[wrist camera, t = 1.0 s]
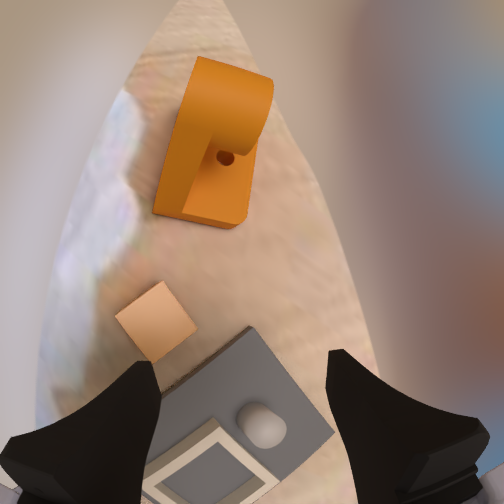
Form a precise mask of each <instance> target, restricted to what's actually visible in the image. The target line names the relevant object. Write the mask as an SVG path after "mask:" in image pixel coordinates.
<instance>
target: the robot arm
mask: <svg viewBox="0 0 504 504" xmlns="http://www.w3.org/2000/svg"><path fill="white" fill-rule="evenodd" d="M325 388H326V393H327V397H328V401H329V405H330V409H331V412H332V414H333V417H334V419H335V422H336V425H337V427H338V430H339V432H340V435H341V437H342V440H343V443H344V445H345V448H346V451H347V454H348V457H349V461H350V466H351V470H352V474H353V479H354V483H355V488H356V493H357V499H358V504H504V462H503V463H502V464H500V465H498V466H497V467H495V468H494V469H492V470H490V471H488V472H487V473H485V474H484V475H483V476H481V477H480V478H479V479H478V477H477V476H476V474H475V473H477V472H478V468H477V466H476V465H475V462H476V461H477V460H478V458H479V457H480V455H481V454H482V453H483V451H484V450H485V448H486V446H487V445H488V442H489V439H490V435H489V433H488V431H487V430H486V429H485V427H484V426H483V425H482V423H481V422H480V421H479V419H478V418H473V417H468V416H462V415H457V414H453V413H449V412H446V411H443V410H439V409H436V408H433V407H431V406H428V405H426V404H423V403H421V402H419V401H416V400H414V399H412V398H410V397H408V396H406V395H405V394H403V393H401V392H399V391H397V390H396V389H394V388H392V387H391V386H390V385H388V384H386V383H385V382H384V381H382V380H381V379H379V378H378V377H377V376H375V375H374V374H373V373H371V372H370V371H369V370H368V369H366V368H365V367H364V366H363V365H361V364H360V363H359V362H358V361H357V360H356V359H354V358H353V357H352V356H351V355H350V354H349V353H347V352H346V351H345V350H344V349H338V350H331V351H329V353H328V365H327V377H326V387H325ZM161 400H162V396H161V393H160V389H159V386H158V383H157V380H156V377H155V373H154V370H153V367H152V363H151V361H137V362H135V363H134V364H133V365H132V366H131V367H130V368H129V369H128V370H127V371H125V372H124V373H123V374H122V375H121V376H120V377H119V378H118V379H117V380H116V381H115V382H113V383H112V384H111V385H110V386H109V387H108V388H107V389H105V390H104V391H103V392H102V393H100V394H99V395H98V396H97V397H96V398H94V399H93V400H92V401H90V402H89V403H88V404H86V405H85V406H83V407H82V408H80V409H79V410H77V411H76V412H74V413H72V414H71V415H69V416H67V417H65V418H63V419H61V420H59V421H57V422H55V423H53V424H51V425H49V426H46V427H44V428H41V429H38V430H36V431H33V432H30V433H26V434H22V435H19V436H15V437H11V438H10V440H9V441H8V443H7V445H6V446H5V448H4V449H3V451H2V452H1V454H0V465H1V466H2V468H3V469H4V471H5V472H6V473H7V474H8V475H9V476H10V477H11V478H12V479H13V480H14V481H15V483H16V484H17V485H18V486H17V487H16V488H14V489H10V488H8V487H6V486H4V485H2V484H0V504H141V492H142V483H143V476H144V469H145V463H146V459H147V455H148V452H149V449H150V445H151V442H152V439H153V435H154V432H155V429H156V425H157V422H158V418H159V413H160V407H161ZM17 492H18V493H17Z"/></svg>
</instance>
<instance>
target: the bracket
mask: <svg viewBox="0 0 504 504" xmlns="http://www.w3.org/2000/svg"><path fill="white" fill-rule="evenodd" d="M273 90H274V84H273V80H272V79H270V78H268V77H265V76H262V75H259V74H256V73H253V72H250V71H247V70H244V69H241V68H238V67H235V66H232V65H229V64H225V63H222V62H219V61H215V60H211V59H208V58H204V57H200V56H198V57H197V60H196V63H195V65H194V68H193V71H192V74H191V76H190V79H189V82H188V85H187V88H186V91H185V94H184V97H183V100H182V103H181V106H180V110H179V113H178V116H177V119H176V123H175V126H174V129H173V133H172V136H171V140H170V143H169V147H168V151H167V154H166V158H165V162H164V166H163V169H162V173H161V177H160V181H159V186H158V190H157V194H156V198H155V203H154V207H153V212H152V213H155V214H160V215H164V216H169V217H174V218H179V219H184V220H188V221H193V222H198V223H202V224H207V225H212V226H216V227H221V228H226V229H232V228H234V227H236V226H237V225H239V224H240V223H242V222H243V221H244V220H245V219H246V217H247V213H248V206H249V199H250V192H251V185H252V178H253V171H254V164H255V157H256V151H257V144H258V138H259V136H260V134H261V132H262V130H263V127H264V125H265V122H266V120H267V117H268V114H269V110H270V107H271V103H272V98H273ZM218 161H219V162H221V163H222V164H223V165H221V164H220V163H219V162H218Z"/></svg>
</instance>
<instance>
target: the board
mask: <svg viewBox="0 0 504 504" xmlns="http://www.w3.org/2000/svg"><path fill="white" fill-rule="evenodd" d="M161 396H162V400H161V407H160V413H159V418H158V422H157V425H156V429H155V432H154V435H153V439H152V442H151V445H150V449H149V452H148V455H147V459H146V463H145V469H144V476H143V483H142V492H141V494H142V495H143V496H144V497H146V498H147V499H148V500H150V501H151V502H152V503H154V504H252V503H254V502H255V501H256V500H258V499H259V498H261V497H262V496H263V495H264V494H266V493H267V492H268V491H270V490H271V489H272V488H274V487H275V486H276V485H277V484H279V483H280V482H281V481H282V480H283V479H285V478H286V477H287V476H288V475H289V474H291V473H292V472H293V471H294V470H295V469H297V468H298V467H299V466H300V465H301V464H302V463H303V462H304V461H306V460H307V459H308V458H309V457H310V456H311V455H312V454H313V453H314V452H315V451H317V450H318V449H319V448H320V447H321V446H322V445H323V444H324V443H325V442H326V441H327V440H328V439H329V438H330V437H331V436H332V435H333V434H334V433H335V431H334V430H333V429H332V428H331V426H330V425H329V424H328V423H327V422H326V420H325V419H324V418H323V417H322V415H321V414H320V413H319V412H318V410H317V409H316V408H315V407H314V405H313V404H312V403H311V402H310V400H309V399H308V398H307V397H306V395H305V394H304V393H303V391H302V390H301V389H300V388H299V386H298V385H297V384H296V382H295V381H294V380H293V379H292V377H291V376H290V375H289V373H288V372H287V371H286V370H285V368H284V367H283V366H282V364H281V363H280V362H279V360H278V359H277V358H276V356H275V355H274V354H273V352H272V351H271V350H270V349H269V347H268V346H267V345H266V343H265V342H264V341H263V339H262V338H261V336H260V335H259V334H258V332H257V331H256V330H255V328H254V327H251V326H249V327H247V328H246V329H245V330H244V331H243V332H241V333H240V334H239V335H238V336H236V337H235V338H234V339H233V340H232V341H230V342H229V343H228V344H227V345H225V346H224V347H223V348H222V349H220V350H219V351H218V352H217V353H215V354H214V355H213V356H212V357H210V358H209V359H208V360H207V361H205V362H204V363H203V364H201V365H200V366H199V367H198V368H196V369H195V370H194V371H193V372H191V373H190V374H189V375H187V376H186V377H185V378H183V379H182V380H181V381H180V382H178V383H177V384H176V385H174V386H173V387H172V388H170V389H169V390H168V391H166V392H165V393H164V394H162V395H161Z"/></svg>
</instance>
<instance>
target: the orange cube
mask: <svg viewBox="0 0 504 504" xmlns="http://www.w3.org/2000/svg"><path fill="white" fill-rule="evenodd" d="M115 317H116V318H117V320H118V321H119V323H120V324H121V325H122V327H123V328H124V329H125V331H126V332H127V333H128V335H129V336H130V337H131V339H132V340H133V341H134V343H135V344H136V345H137V346H138V348H139V349H140V350H141V351H142V353H143V354H144V355H145V356H146V358H147V359H148V360H149V361H151V363H152V364H153V363H155V362H156V361H157V360H159V359H160V358H161V357H163V356H164V355H165V354H167V353H168V352H169V351H171V350H172V349H173V348H175V347H176V346H177V345H178V344H180V343H181V342H182V341H184V340H185V339H186V338H188V337H189V336H190V335H191V334H193V333H194V332H195V331H197V330H198V328H197V327H196V325H195V324H194V323H193V321H192V320H191V319H190V317H189V316H188V315H187V313H186V312H185V311H184V309H183V308H182V307H181V305H180V304H179V303H178V301H177V300H176V298H175V297H174V296H173V294H172V293H171V292H170V290H169V289H168V287H167V286H166V285H165V283H164V282H163V281H160V282H158V283H156V284H155V285H154V286H152V287H151V288H150V289H148V290H147V291H145V292H144V293H143V294H141V295H140V296H139V297H137V298H136V299H135V300H133V301H132V302H131V303H129V304H128V305H126V306H125V307H124V308H122V309H121V310H120V311H119V312H118V313H117V314H116V315H115Z"/></svg>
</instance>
